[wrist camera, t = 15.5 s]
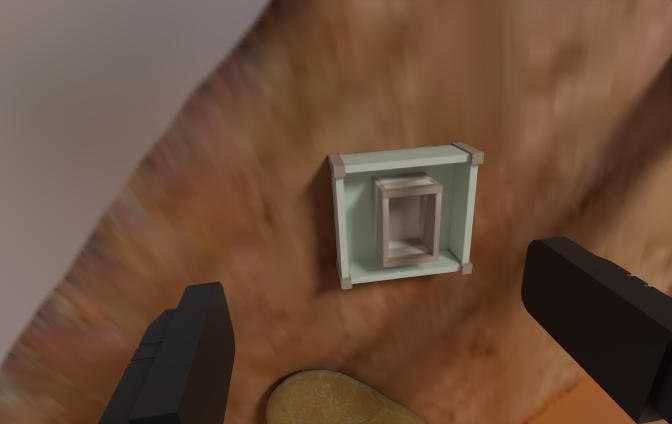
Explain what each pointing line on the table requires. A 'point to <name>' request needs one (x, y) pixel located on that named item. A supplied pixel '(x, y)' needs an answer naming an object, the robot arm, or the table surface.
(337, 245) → the large crate
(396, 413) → the bread
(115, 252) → the table surface
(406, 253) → the small crate
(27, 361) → the table surface
